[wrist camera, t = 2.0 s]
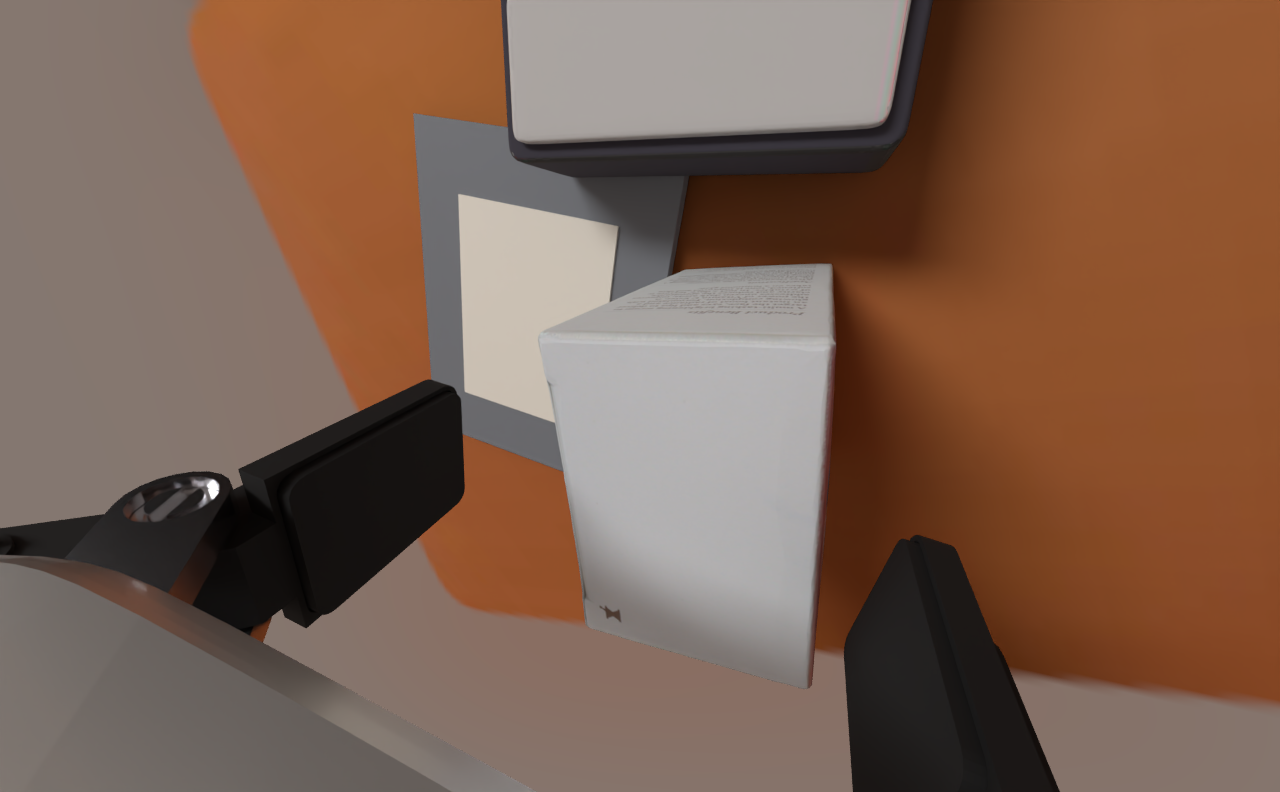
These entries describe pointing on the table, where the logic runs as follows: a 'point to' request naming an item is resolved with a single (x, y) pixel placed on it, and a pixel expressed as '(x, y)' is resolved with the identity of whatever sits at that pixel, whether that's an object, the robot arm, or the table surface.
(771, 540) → the small box
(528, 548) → the table surface
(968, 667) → the robot arm
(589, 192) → the board
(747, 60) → the calculator
